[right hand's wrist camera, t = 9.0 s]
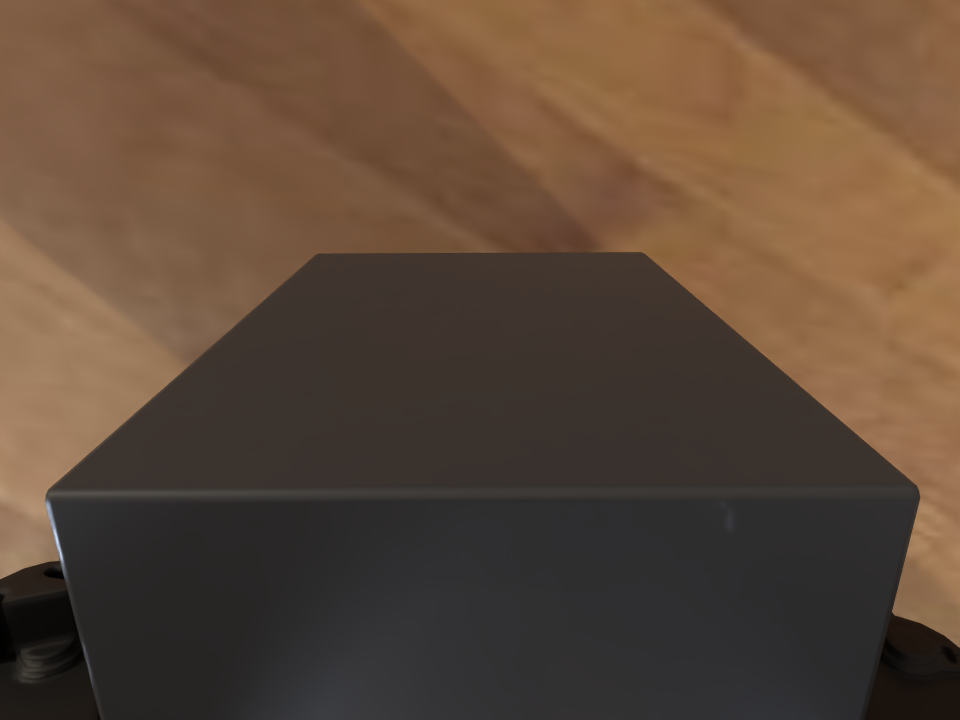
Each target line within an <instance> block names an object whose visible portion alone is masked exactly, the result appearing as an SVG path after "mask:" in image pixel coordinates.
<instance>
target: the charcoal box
mask: <svg viewBox="0 0 960 720" xmlns="http://www.w3.org/2000/svg"><path fill="white" fill-rule="evenodd" d="M919 501H920V494H919V490H918V488H917V486H916V485H915V484H914V483H913V482H912V481H911V480H909V479H908V478H907V477H906V476H905V475H904V474H902V473H901V472H900V471H899V470H898V469H896V468H895V467H894V466H893V465H892V464H891V463H889V462H888V461H887V460H886V459H885V458H884V457H882V456H881V455H880V454H879V453H878V452H877V451H875V450H874V449H873V448H872V447H871V446H870V445H868V444H867V443H866V442H865V441H864V440H862V439H861V438H860V437H859V436H858V435H857V434H855V433H854V432H853V431H852V430H851V429H850V428H848V427H847V426H846V425H845V424H844V423H843V422H841V421H840V420H839V419H838V418H837V417H835V416H834V415H833V414H832V413H831V412H830V411H828V410H827V409H826V408H825V407H824V406H823V405H821V404H820V403H819V402H818V401H817V400H816V399H814V398H813V397H812V396H811V395H810V394H808V393H807V392H806V391H805V390H804V389H803V388H801V387H800V386H799V385H798V384H797V383H796V382H794V381H793V380H792V379H791V378H790V377H789V376H787V375H786V374H785V373H784V372H783V371H782V370H780V369H779V368H778V367H777V366H776V365H774V364H773V363H772V362H771V361H770V360H769V359H767V358H766V357H765V356H764V355H763V354H762V353H760V352H759V351H758V350H757V349H756V348H755V347H753V346H752V345H751V344H750V343H749V342H747V341H746V340H745V339H744V338H743V337H742V336H740V335H739V334H738V333H737V332H736V331H735V330H733V329H732V328H731V327H730V326H729V325H728V324H726V323H725V322H724V321H723V320H722V319H720V318H719V317H718V316H717V315H716V314H715V313H713V312H712V311H711V310H710V309H709V308H708V307H706V306H705V305H704V304H703V303H702V302H701V301H699V300H698V299H697V298H696V297H695V296H693V295H692V294H691V293H690V292H689V291H688V290H686V289H685V288H684V287H683V286H682V285H681V284H679V283H678V282H677V281H676V280H675V279H674V278H672V277H671V276H670V275H669V274H668V273H667V272H665V271H664V270H663V269H662V268H661V267H659V266H658V265H657V264H656V263H655V262H654V261H652V260H651V259H650V258H649V257H648V256H647V255H645V254H644V253H642V252H606V253H379V254H317V255H315V256H314V257H313V258H312V259H311V260H309V261H308V262H307V263H306V264H305V265H304V266H303V267H301V268H300V269H299V270H298V271H297V272H296V273H295V274H293V275H292V276H291V277H290V278H289V279H288V280H287V281H286V282H284V283H283V284H282V285H281V286H280V287H279V288H278V289H276V290H275V291H274V292H273V293H272V294H271V295H270V296H268V297H267V298H266V299H265V300H264V301H263V302H262V303H260V304H259V305H258V306H257V307H256V308H255V309H254V310H252V311H251V312H250V313H249V314H248V315H247V316H246V317H244V318H243V319H242V320H241V321H240V322H239V323H238V324H237V325H235V326H234V327H233V328H232V329H231V330H230V331H229V332H227V333H226V334H225V335H224V336H223V337H222V338H221V339H219V340H218V341H217V342H216V343H215V344H214V345H213V346H211V347H210V348H209V349H208V350H207V351H206V352H205V353H203V354H202V355H201V356H200V357H199V358H198V359H197V360H195V361H194V362H193V363H192V364H191V365H190V366H189V367H188V368H186V369H185V370H184V371H183V372H182V373H181V374H180V375H178V376H177V377H176V378H175V379H174V380H173V381H172V382H170V383H169V384H168V385H167V386H166V387H165V388H164V389H162V390H161V391H160V392H159V393H158V394H157V395H156V396H154V397H153V398H152V399H151V400H150V401H149V402H148V403H146V404H145V405H144V406H143V407H142V408H141V409H140V410H139V411H137V412H136V413H135V414H134V415H133V416H132V417H131V418H129V419H128V420H127V421H126V422H125V423H124V424H123V425H121V426H120V427H119V428H118V429H117V430H116V431H115V432H113V433H112V434H111V435H110V436H109V437H108V438H107V439H105V440H104V441H103V442H102V443H101V444H100V445H99V446H98V447H96V448H95V449H94V450H93V451H92V452H91V453H90V454H88V455H87V456H86V457H85V458H84V459H83V460H82V461H80V462H79V463H78V464H77V465H76V466H75V467H74V468H72V469H71V470H70V471H69V472H68V473H67V474H66V475H64V476H63V477H62V478H61V479H60V480H59V481H58V482H56V483H55V484H54V485H53V486H52V487H51V488H50V489H49V490H48V492H47V494H46V498H45V504H46V508H47V512H48V516H49V520H50V524H51V528H52V532H53V536H54V540H55V543H56V547H57V551H58V555H59V559H60V563H61V567H62V571H63V575H64V579H65V582H66V586H67V590H68V594H69V598H70V602H71V606H72V610H73V614H74V617H75V621H76V625H77V629H78V633H79V637H80V641H81V645H82V649H83V653H84V656H85V660H86V664H87V668H88V672H89V676H90V680H91V684H92V688H93V692H94V695H95V699H96V703H97V707H98V711H99V715H100V719H101V720H865V717H866V713H867V709H868V705H869V701H870V697H871V693H872V689H873V685H874V681H875V677H876V673H877V669H878V665H879V661H880V657H881V653H882V649H883V645H884V641H885V637H886V633H887V629H888V625H889V621H890V617H891V613H892V609H893V605H894V601H895V597H896V593H897V589H898V585H899V581H900V577H901V573H902V569H903V565H904V561H905V557H906V553H907V549H908V545H909V541H910V537H911V533H912V529H913V525H914V521H915V517H916V513H917V509H918V505H919Z"/></svg>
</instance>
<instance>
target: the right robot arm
mask: <svg viewBox="0 0 960 720" xmlns="http://www.w3.org/2000/svg"><path fill="white" fill-rule="evenodd" d="M0 720H101V719H100V715H99V711H98V707H97V703H96V699H95V695H94V692H93V688H92V684H91V680H90V676H89V672H88V668H87V664H86V660H85V656H84V653H83V649H82V645H81V641H80V637H79V633H78V629H77V625H76V621H75V617H74V614H73V610H72V606H71V602H70V598H69V594H68V590H67V586H66V582H65V579H64V575H63V571H62V567H61V563H60V561H53V562H47V563H43V564H39V565H35V566H32V567H28V568H24V569H22V570H20V571H18V572H15V573H13V574H11V575H9V576H7V577H4V578H2V579H0ZM865 720H960V648H959V647H958V646H956V645H955V644H954V643H953V642H951V641H950V640H949V639H948V638H946V637H945V636H944V635H942V634H940V633H938V632H936V631H934V630H932V629H930V628H928V627H927V626H925V625H923V624H921V623H917V622H914V621H911V620H908V619H904V618H901V617H898V616H895V615H894V614H893V613H891V617H890V621H889V625H888V629H887V633H886V637H885V641H884V645H883V649H882V653H881V657H880V661H879V665H878V669H877V673H876V677H875V681H874V685H873V689H872V693H871V697H870V701H869V705H868V709H867V713H866V717H865Z"/></svg>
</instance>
